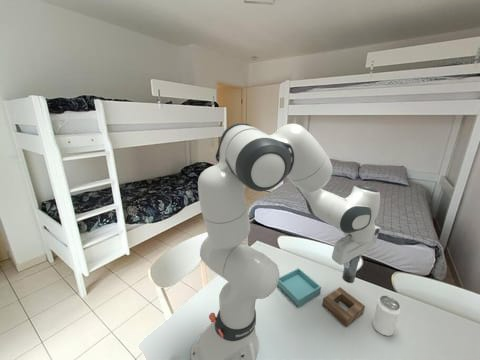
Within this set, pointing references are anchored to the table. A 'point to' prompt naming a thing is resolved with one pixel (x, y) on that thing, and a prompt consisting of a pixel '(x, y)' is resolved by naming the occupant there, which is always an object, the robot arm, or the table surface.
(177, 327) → the table surface
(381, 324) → the can
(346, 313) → the pin block
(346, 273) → the pin
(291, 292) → the tray
